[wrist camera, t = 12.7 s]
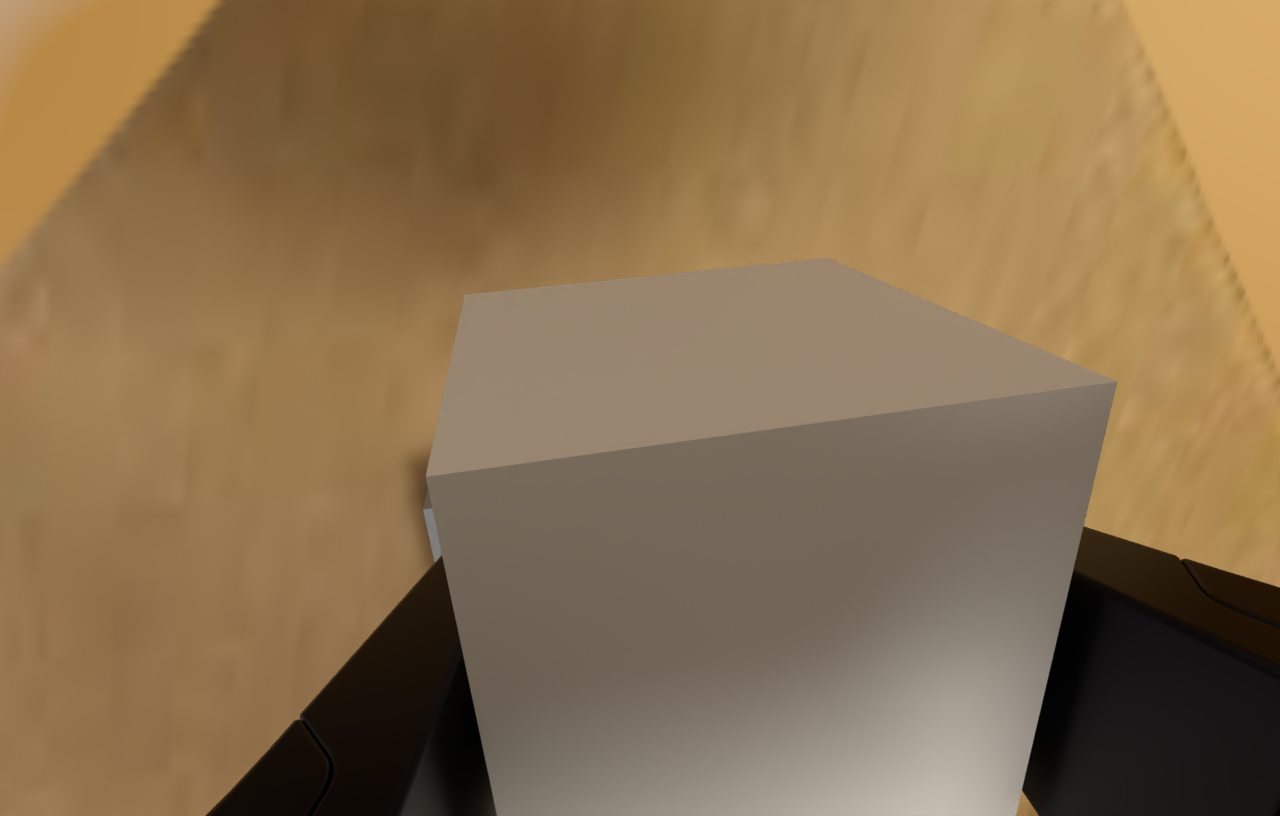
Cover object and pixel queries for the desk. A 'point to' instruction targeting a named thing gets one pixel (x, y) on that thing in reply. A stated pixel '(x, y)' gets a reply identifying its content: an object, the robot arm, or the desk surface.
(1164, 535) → the desk surface
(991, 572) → the cream block
